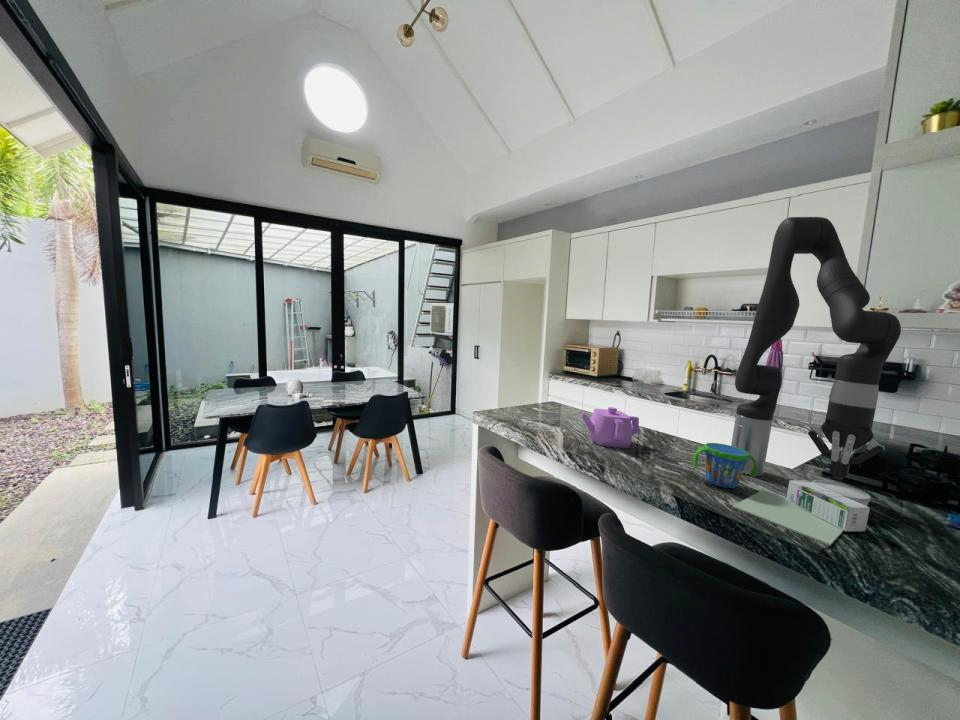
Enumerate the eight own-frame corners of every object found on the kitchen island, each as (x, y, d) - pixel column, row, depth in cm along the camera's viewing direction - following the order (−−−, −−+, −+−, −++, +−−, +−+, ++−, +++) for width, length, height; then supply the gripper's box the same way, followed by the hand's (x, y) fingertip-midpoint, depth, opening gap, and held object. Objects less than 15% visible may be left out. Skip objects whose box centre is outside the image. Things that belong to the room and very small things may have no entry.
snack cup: (747, 483, 111) (753, 448, 110) (760, 497, 101) (766, 460, 100) (686, 471, 116) (691, 438, 115) (693, 484, 106) (698, 448, 105)
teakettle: (620, 452, 129) (625, 416, 128) (575, 438, 141) (579, 404, 140) (641, 443, 141) (645, 410, 140) (598, 431, 153) (601, 400, 152)
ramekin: (830, 497, 106) (833, 479, 105) (879, 519, 95) (883, 498, 94) (797, 498, 103) (800, 479, 103) (844, 520, 92) (848, 499, 92)
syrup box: (845, 532, 85) (783, 500, 100) (867, 531, 86) (803, 500, 101) (850, 507, 85) (787, 479, 99) (872, 507, 86) (806, 479, 100)
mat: (762, 491, 106) (762, 489, 106) (851, 521, 92) (852, 520, 92) (732, 507, 94) (732, 505, 94) (830, 545, 80) (830, 543, 80)
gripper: (898, 408, 82) (882, 486, 84) (817, 395, 93) (805, 465, 95) (892, 411, 78) (875, 493, 80) (809, 397, 88) (795, 470, 90)
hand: (837, 478), depth 87 cm, fingers closed
